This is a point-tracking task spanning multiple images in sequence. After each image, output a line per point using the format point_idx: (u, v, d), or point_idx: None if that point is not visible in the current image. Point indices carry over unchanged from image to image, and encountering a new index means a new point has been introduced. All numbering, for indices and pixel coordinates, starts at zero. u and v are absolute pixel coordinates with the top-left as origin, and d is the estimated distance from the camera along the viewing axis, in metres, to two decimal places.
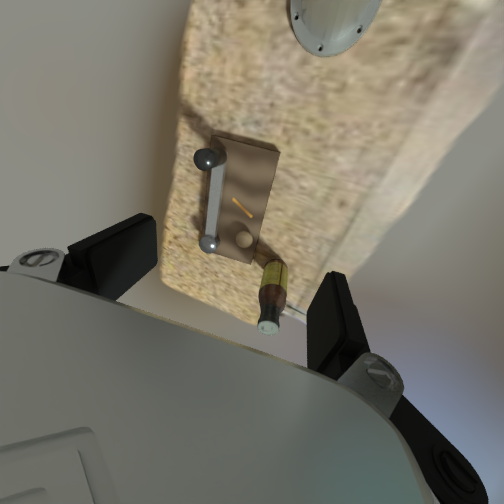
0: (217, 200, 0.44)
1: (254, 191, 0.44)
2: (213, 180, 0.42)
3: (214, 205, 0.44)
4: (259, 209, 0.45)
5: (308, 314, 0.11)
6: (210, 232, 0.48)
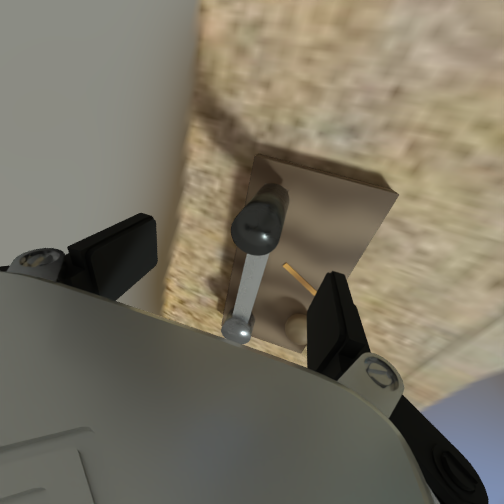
0: (259, 272, 0.24)
1: (328, 257, 0.23)
2: None
3: (253, 279, 0.25)
4: None
5: (308, 314, 0.11)
6: (241, 315, 0.28)
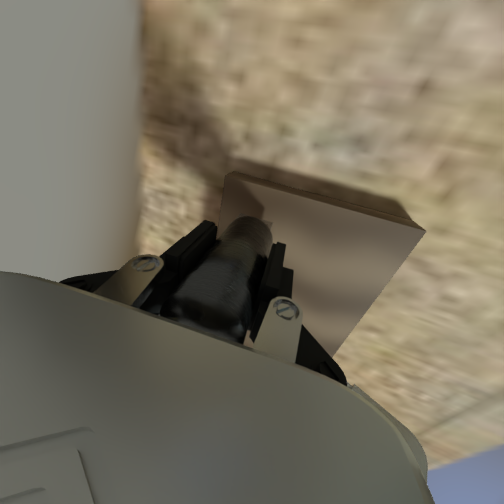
0: None
1: (327, 304, 0.18)
2: None
3: None
4: (332, 336, 0.20)
5: None
6: None
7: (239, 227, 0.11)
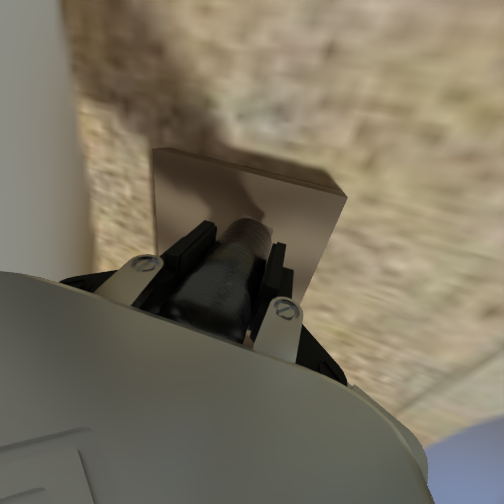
0: None
1: None
2: None
3: None
4: None
5: None
6: None
7: (245, 230, 0.11)
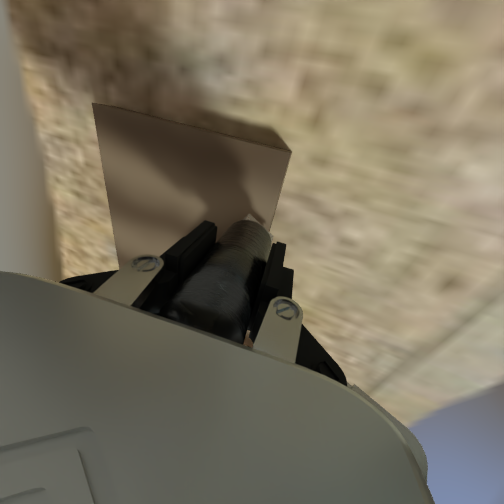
0: None
1: None
2: None
3: None
4: None
5: None
6: None
7: (251, 235, 0.11)
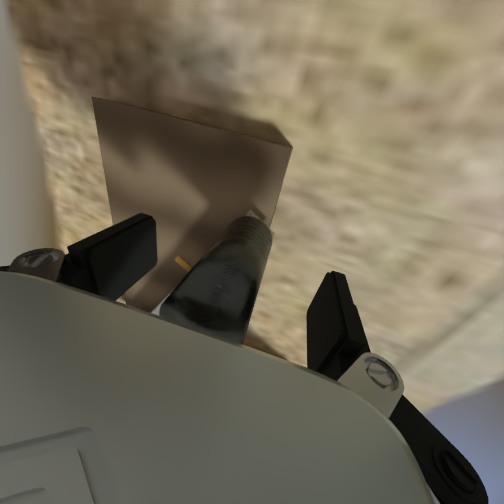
0: None
1: None
2: None
3: None
4: None
5: (308, 314, 0.11)
6: None
7: (253, 231, 0.11)
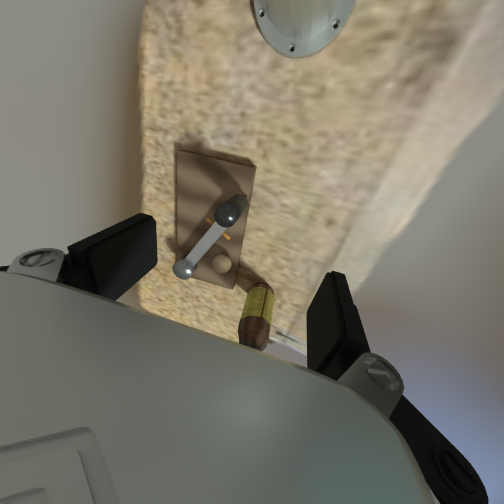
0: (215, 238, 0.39)
1: None
2: None
3: (209, 240, 0.40)
4: (237, 230, 0.40)
5: (308, 314, 0.11)
6: (191, 260, 0.43)
7: (240, 197, 0.32)
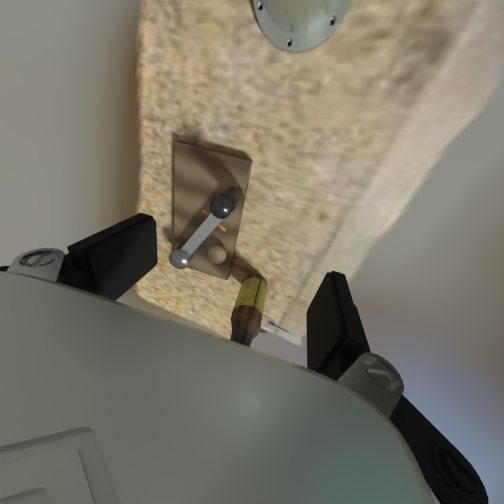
0: (210, 229, 0.40)
1: None
2: None
3: (205, 231, 0.41)
4: (232, 222, 0.41)
5: (308, 314, 0.11)
6: (187, 250, 0.44)
7: (235, 190, 0.33)
